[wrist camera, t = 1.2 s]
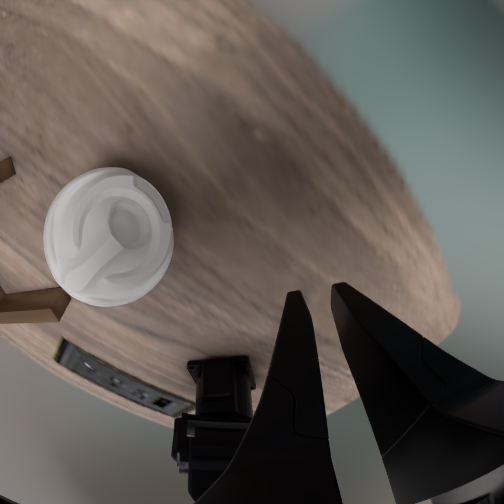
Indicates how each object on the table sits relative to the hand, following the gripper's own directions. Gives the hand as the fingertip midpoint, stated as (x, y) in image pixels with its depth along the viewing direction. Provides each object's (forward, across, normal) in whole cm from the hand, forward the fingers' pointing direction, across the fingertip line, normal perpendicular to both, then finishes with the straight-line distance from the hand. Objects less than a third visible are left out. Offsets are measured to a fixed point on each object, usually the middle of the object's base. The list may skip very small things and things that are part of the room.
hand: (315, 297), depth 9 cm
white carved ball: (+11, +10, 0) cm, 15 cm away
